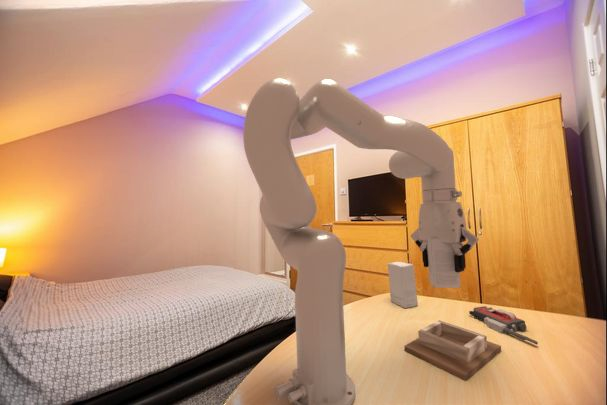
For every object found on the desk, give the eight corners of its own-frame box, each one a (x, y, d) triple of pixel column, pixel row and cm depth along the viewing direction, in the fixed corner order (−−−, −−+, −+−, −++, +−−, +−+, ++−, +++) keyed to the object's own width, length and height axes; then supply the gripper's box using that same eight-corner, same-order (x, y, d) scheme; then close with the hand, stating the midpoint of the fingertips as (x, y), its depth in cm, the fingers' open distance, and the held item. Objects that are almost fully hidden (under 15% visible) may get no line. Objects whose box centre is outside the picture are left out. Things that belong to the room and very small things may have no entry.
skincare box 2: (454, 283, 64) (451, 236, 65) (461, 288, 60) (457, 238, 61) (428, 283, 66) (425, 236, 66) (433, 288, 61) (430, 238, 62)
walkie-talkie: (463, 317, 81) (534, 350, 62) (462, 303, 81) (533, 331, 62) (485, 313, 83) (560, 344, 64) (484, 300, 83) (558, 326, 64)
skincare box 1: (418, 306, 90) (415, 264, 91) (404, 309, 89) (401, 266, 89) (402, 299, 98) (400, 260, 99) (389, 301, 97) (387, 262, 97)
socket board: (466, 380, 51) (464, 359, 51) (404, 350, 63) (403, 333, 63) (501, 350, 61) (500, 333, 61) (442, 329, 73) (441, 314, 73)
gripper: (485, 194, 59) (490, 272, 58) (415, 199, 73) (419, 261, 72) (469, 194, 54) (475, 278, 54) (399, 199, 69) (403, 265, 68)
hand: (443, 268), depth 63 cm, fingers closed on skincare box 2, 7 cm apart
